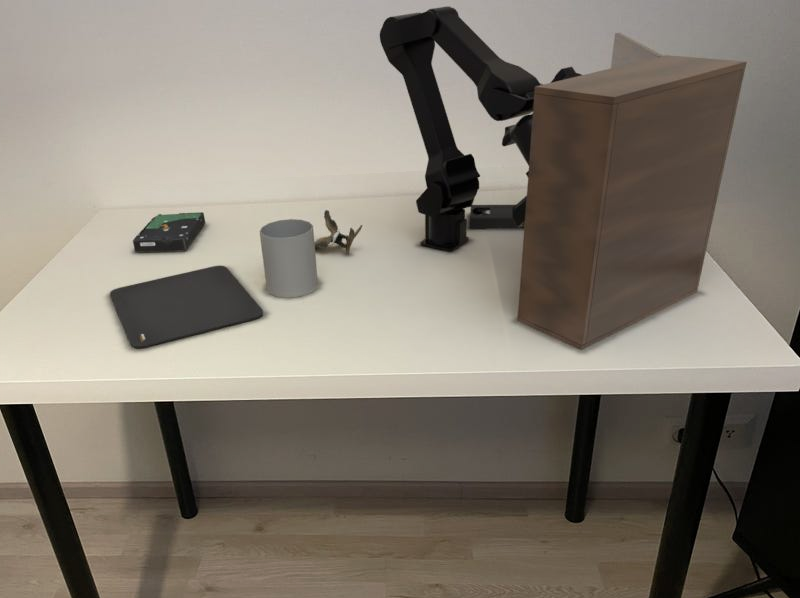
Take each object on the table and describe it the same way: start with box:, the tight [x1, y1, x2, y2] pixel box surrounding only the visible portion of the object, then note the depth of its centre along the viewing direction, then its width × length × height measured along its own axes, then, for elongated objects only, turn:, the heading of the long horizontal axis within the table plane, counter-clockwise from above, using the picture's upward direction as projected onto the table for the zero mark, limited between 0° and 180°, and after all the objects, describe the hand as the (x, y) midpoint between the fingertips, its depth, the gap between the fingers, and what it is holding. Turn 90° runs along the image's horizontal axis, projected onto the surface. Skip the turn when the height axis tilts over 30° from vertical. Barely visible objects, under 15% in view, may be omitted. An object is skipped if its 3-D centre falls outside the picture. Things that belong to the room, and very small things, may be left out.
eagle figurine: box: [314, 209, 363, 256], centre depth 127 cm, size 8×7×9 cm
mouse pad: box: [109, 265, 264, 349], centre depth 114 cm, size 23×20×1 cm
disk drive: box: [132, 211, 206, 253], centre depth 140 cm, size 10×3×15 cm
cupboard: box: [517, 54, 748, 351], centre depth 94 cm, size 11×26×32 cm, turn 124°
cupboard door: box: [610, 32, 664, 69], centre depth 115 cm, size 6×26×31 cm, turn 173°
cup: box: [259, 218, 319, 299], centre depth 114 cm, size 8×8×10 cm
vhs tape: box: [469, 204, 525, 230], centre depth 134 cm, size 14×8×2 cm, turn 78°
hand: (600, 245), depth 100 cm, fingers open, 9 cm apart
